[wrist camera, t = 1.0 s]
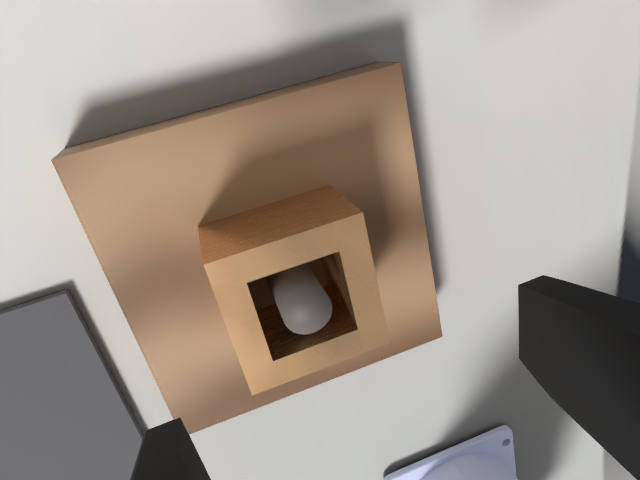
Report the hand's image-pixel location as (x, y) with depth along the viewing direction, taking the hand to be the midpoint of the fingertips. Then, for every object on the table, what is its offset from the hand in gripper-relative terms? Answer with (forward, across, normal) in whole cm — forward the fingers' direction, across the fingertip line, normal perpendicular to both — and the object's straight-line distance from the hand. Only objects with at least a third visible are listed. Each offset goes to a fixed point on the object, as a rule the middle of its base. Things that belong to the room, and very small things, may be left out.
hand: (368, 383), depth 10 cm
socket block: (+11, 0, +2) cm, 11 cm away
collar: (+9, 0, +2) cm, 9 cm away
